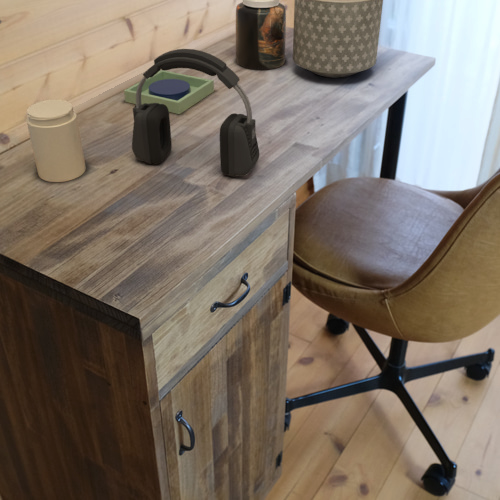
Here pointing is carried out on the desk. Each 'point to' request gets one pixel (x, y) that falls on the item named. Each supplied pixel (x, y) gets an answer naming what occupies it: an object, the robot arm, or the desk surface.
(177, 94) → the lid
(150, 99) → the tray
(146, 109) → the headphones
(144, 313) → the desk surface
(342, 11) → the planter
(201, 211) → the desk surface
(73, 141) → the cream jar
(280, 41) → the jar
